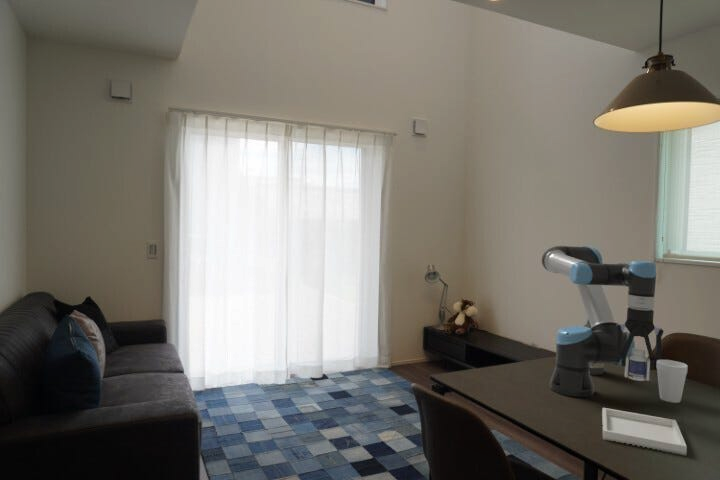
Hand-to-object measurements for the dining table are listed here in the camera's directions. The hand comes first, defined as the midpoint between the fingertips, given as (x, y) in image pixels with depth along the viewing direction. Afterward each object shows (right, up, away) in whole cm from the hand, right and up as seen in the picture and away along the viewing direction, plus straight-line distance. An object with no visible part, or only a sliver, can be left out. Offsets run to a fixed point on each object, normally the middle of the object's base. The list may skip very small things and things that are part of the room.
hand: (636, 377), depth 160 cm
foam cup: (+19, -12, +13) cm, 26 cm away
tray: (-9, -12, -17) cm, 22 cm away
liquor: (+6, -10, +44) cm, 45 cm away
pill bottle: (0, -1, 0) cm, 1 cm away
